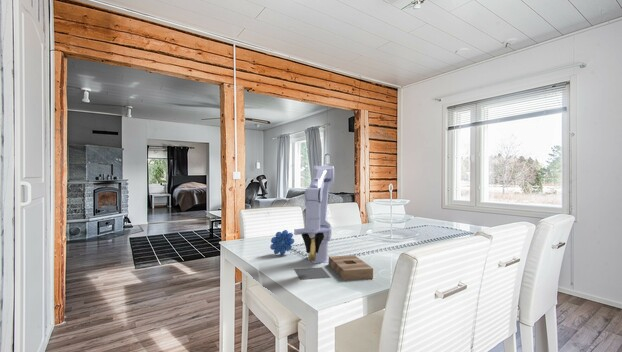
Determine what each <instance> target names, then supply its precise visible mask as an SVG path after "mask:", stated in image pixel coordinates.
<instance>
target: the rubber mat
mask: <svg viewBox="0 0 622 352" xmlns="http://www.w3.org/2000/svg"><path fill="white" fill-rule="evenodd" d="M293 270H294V272H295V274H296V275H297V277H298V279H299V280H300V281H306V280H317V279H318V280H320V279H330V278H331V276H330V275H329V274H328V273H327V272H326V270H325V269H324V268H323V267H320V266H319V267H308V268H307V267H305V268H293Z"/></svg>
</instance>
